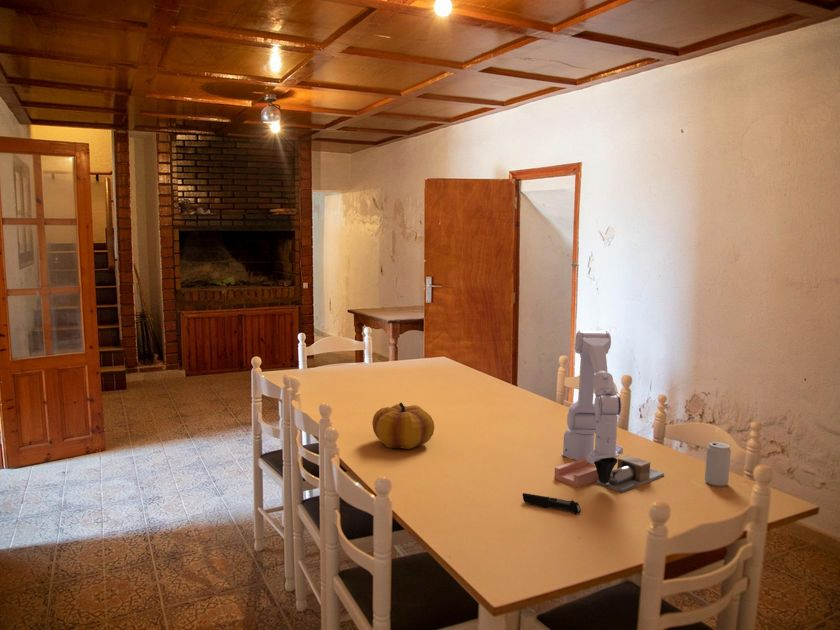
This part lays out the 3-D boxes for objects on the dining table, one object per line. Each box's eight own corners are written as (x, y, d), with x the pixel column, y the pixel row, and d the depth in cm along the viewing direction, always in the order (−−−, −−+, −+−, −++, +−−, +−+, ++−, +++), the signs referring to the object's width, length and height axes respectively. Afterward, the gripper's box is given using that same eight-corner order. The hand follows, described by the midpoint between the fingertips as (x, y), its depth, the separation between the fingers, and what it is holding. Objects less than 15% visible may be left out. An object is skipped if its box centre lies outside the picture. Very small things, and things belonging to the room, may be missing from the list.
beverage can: (708, 477, 196) (710, 439, 195) (730, 483, 192) (733, 444, 190) (701, 483, 191) (704, 444, 190) (724, 489, 187) (727, 449, 186)
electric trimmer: (524, 501, 178) (524, 489, 177) (581, 510, 171) (581, 499, 171) (520, 506, 174) (520, 494, 174) (578, 516, 168) (578, 504, 168)
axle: (617, 487, 186) (619, 474, 185) (605, 481, 189) (607, 469, 188) (648, 475, 196) (650, 463, 195) (636, 470, 199) (638, 458, 198)
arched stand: (596, 483, 190) (597, 464, 189) (639, 467, 204) (640, 450, 203) (621, 492, 183) (622, 473, 183) (663, 475, 197) (665, 457, 196)
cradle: (554, 478, 193) (554, 467, 193) (583, 468, 202) (584, 457, 202) (577, 487, 187) (578, 476, 186) (606, 476, 195) (607, 465, 195)
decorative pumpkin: (428, 456, 212) (429, 411, 210) (363, 450, 216) (364, 407, 214) (439, 437, 231) (439, 396, 229) (379, 433, 236) (379, 392, 234)
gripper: (602, 444, 175) (600, 492, 177) (633, 435, 184) (630, 480, 186) (581, 438, 181) (579, 484, 182) (612, 429, 190) (609, 473, 191)
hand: (603, 482), depth 185 cm, fingers closed
